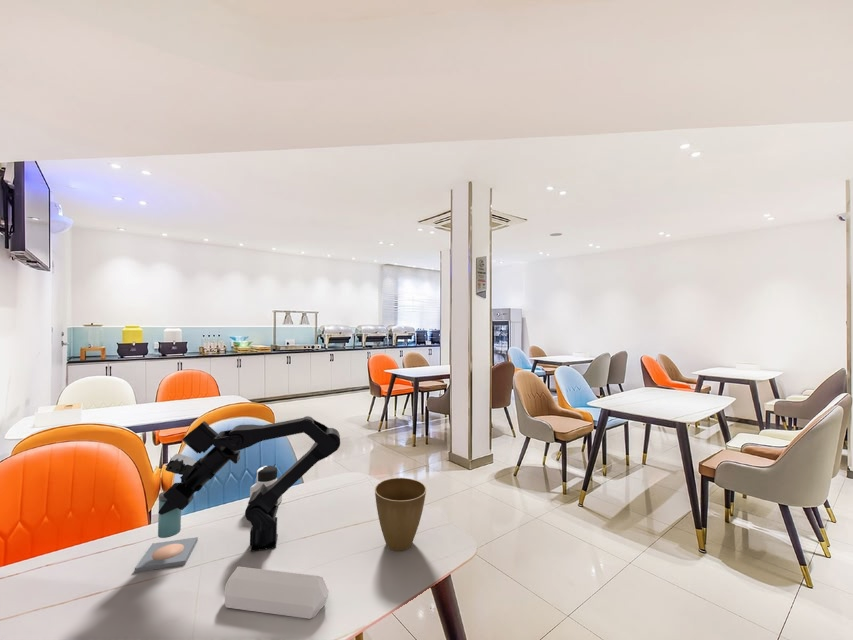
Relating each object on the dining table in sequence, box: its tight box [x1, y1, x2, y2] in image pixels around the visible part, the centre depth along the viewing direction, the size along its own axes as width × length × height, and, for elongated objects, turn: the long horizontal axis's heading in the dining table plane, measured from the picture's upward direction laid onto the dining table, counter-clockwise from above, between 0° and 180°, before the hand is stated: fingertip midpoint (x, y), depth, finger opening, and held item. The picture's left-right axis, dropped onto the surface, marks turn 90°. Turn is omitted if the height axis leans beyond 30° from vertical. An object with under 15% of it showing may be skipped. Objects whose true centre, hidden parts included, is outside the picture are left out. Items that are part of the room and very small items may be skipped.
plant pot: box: [374, 477, 427, 552], centre depth 105 cm, size 15×15×16 cm
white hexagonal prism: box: [224, 566, 329, 619], centre depth 82 cm, size 7×7×24 cm
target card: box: [134, 536, 199, 573], centre depth 98 cm, size 11×11×1 cm
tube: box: [157, 490, 182, 539], centre depth 98 cm, size 5×5×10 cm
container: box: [249, 465, 283, 506], centre depth 126 cm, size 8×8×13 cm
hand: (164, 508), depth 98 cm, fingers closed on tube, 5 cm apart
